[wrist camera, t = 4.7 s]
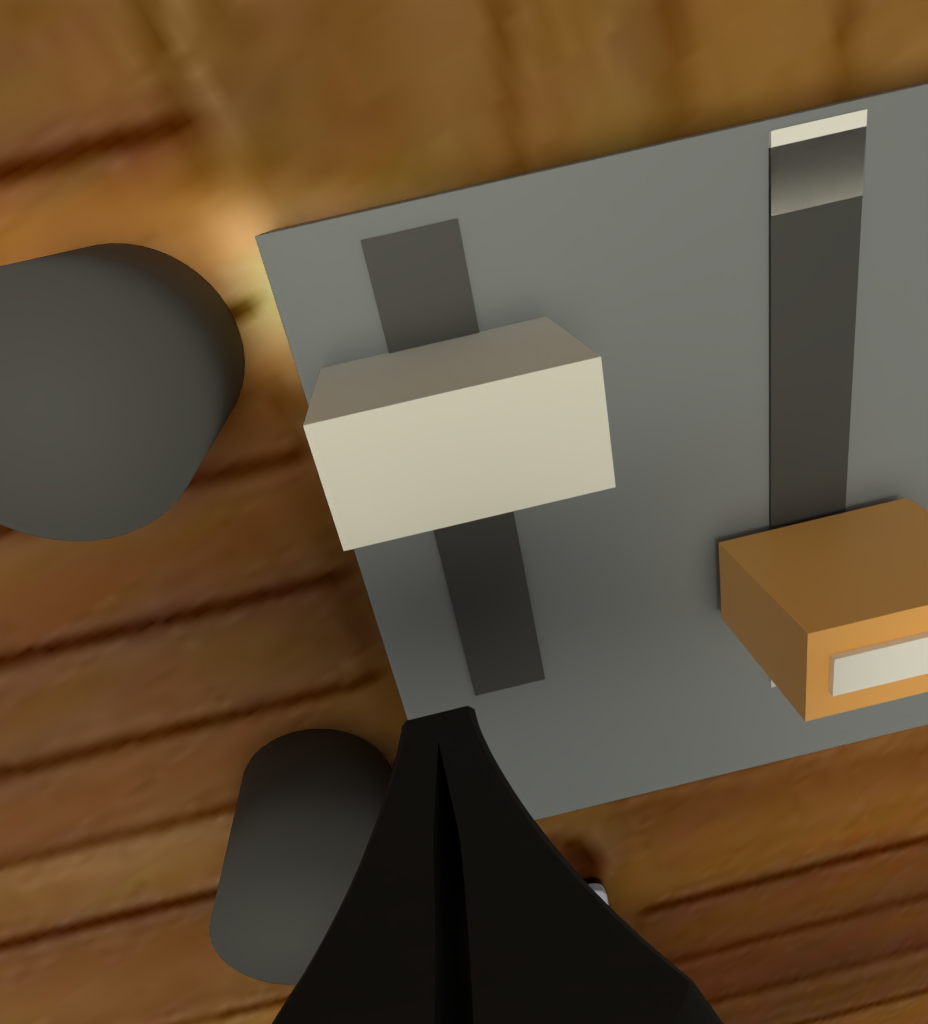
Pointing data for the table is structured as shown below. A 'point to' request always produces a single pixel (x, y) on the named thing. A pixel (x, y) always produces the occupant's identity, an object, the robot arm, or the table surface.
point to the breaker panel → (617, 427)
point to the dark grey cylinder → (295, 849)
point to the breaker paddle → (834, 606)
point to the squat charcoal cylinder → (108, 388)
